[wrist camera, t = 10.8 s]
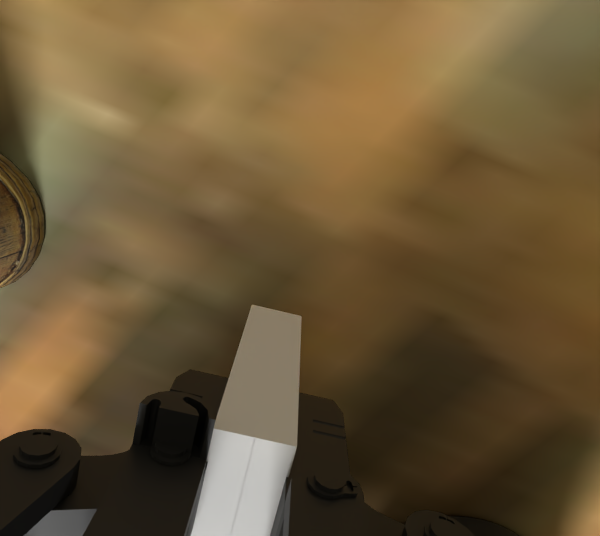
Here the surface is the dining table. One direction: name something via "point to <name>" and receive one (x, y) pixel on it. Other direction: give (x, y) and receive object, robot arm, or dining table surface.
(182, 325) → the dining table surface
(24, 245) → the wooden mug
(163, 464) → the robot arm
